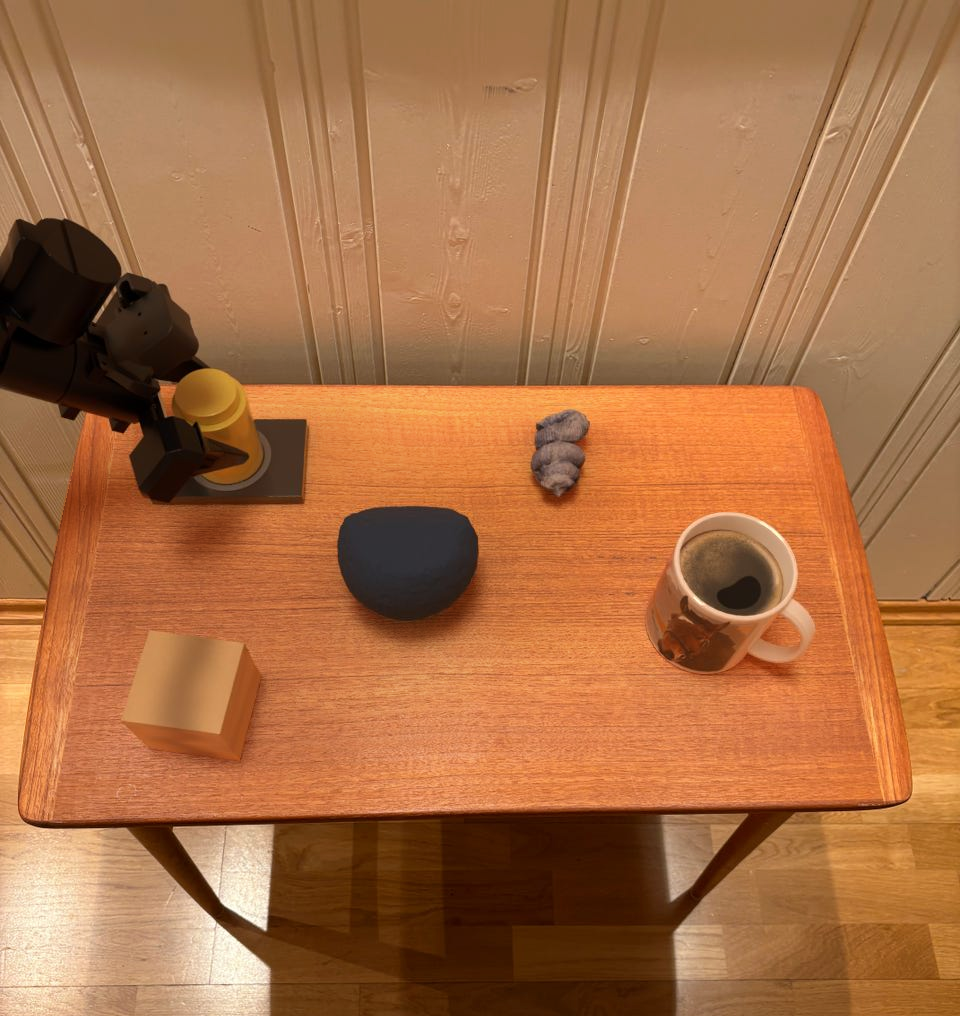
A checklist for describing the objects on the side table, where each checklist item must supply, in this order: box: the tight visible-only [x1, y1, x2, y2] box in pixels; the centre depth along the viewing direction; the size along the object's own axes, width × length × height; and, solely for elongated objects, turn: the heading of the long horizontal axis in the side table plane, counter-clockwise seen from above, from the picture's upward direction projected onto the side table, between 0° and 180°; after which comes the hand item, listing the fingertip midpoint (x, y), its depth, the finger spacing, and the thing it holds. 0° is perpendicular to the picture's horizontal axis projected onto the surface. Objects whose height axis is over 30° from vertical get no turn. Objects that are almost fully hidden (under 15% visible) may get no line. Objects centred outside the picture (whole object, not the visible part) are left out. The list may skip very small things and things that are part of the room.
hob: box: [149, 418, 309, 505], centre depth 83 cm, size 14×9×1 cm, turn 92°
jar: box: [171, 368, 263, 484], centre depth 78 cm, size 6×6×9 cm
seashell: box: [530, 408, 591, 498], centre depth 83 cm, size 5×5×10 cm
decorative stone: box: [336, 505, 480, 623], centre depth 74 cm, size 12×12×10 cm
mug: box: [644, 511, 816, 675], centre depth 73 cm, size 10×12×11 cm
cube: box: [120, 629, 262, 762], centre depth 70 cm, size 8×8×7 cm
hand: (232, 419), depth 78 cm, fingers open, 9 cm apart
